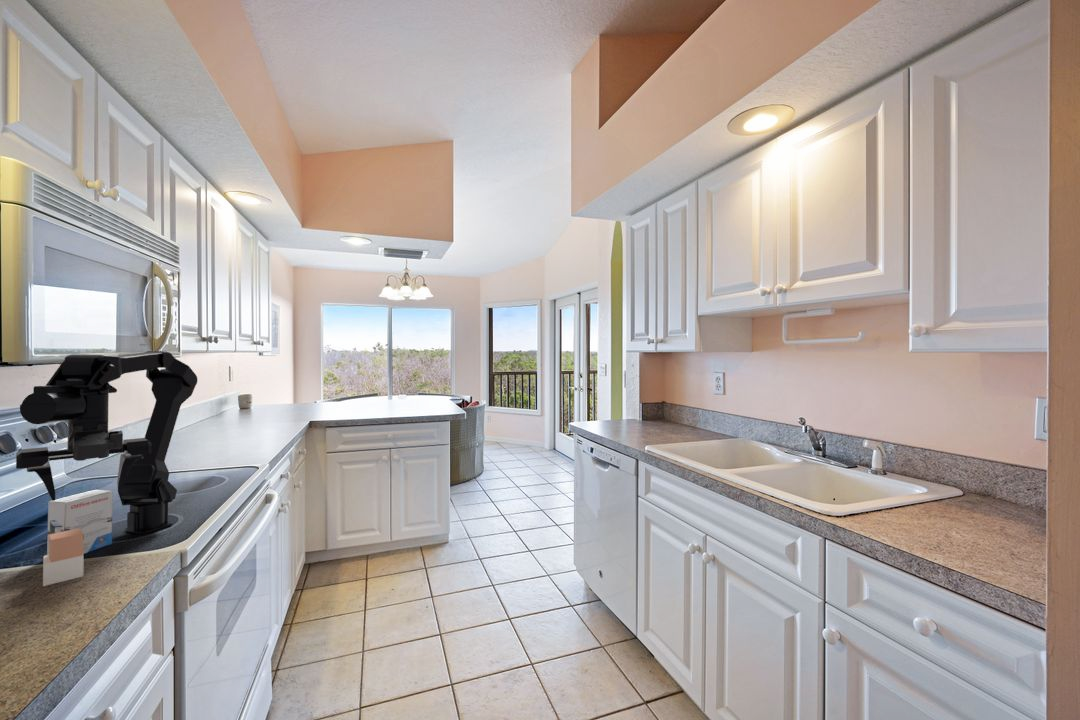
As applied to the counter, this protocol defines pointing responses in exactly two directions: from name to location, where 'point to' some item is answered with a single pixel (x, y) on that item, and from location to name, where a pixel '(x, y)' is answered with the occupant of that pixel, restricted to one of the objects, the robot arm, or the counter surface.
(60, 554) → the terracotta cube
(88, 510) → the ink box
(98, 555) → the counter surface
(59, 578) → the off-white block
